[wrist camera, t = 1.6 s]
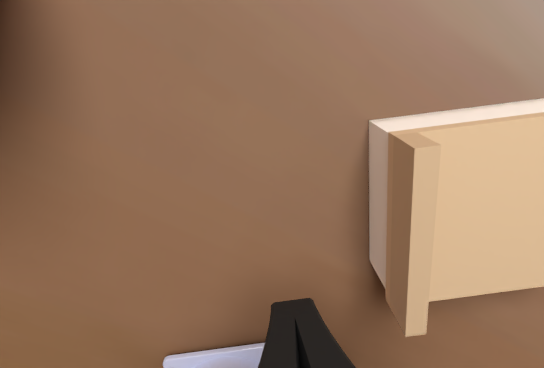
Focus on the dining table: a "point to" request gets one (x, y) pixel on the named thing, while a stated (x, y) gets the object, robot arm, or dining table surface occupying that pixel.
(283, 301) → the robot arm
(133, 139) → the dining table surface
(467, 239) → the lid
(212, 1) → the dining table surface
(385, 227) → the box
